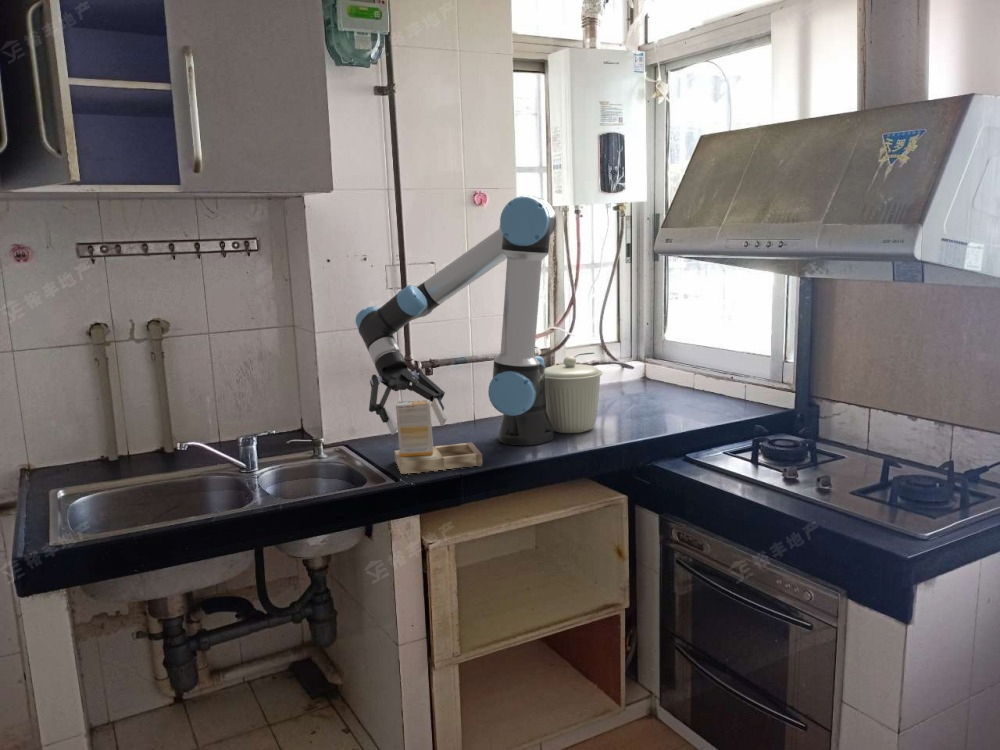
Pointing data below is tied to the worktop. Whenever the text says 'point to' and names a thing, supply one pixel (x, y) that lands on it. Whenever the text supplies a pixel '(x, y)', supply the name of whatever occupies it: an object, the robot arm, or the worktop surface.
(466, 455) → the board
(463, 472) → the worktop surface
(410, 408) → the supplement box
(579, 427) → the canister
